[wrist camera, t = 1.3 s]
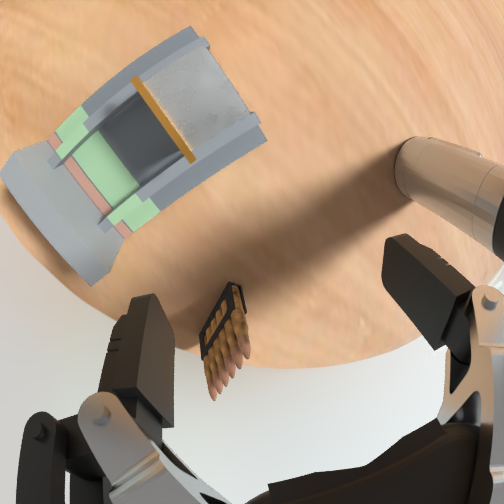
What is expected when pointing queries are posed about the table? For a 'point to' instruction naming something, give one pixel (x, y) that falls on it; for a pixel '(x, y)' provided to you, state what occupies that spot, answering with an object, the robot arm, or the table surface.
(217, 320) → the ammunition clip
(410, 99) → the table surface
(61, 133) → the base
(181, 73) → the plunger
